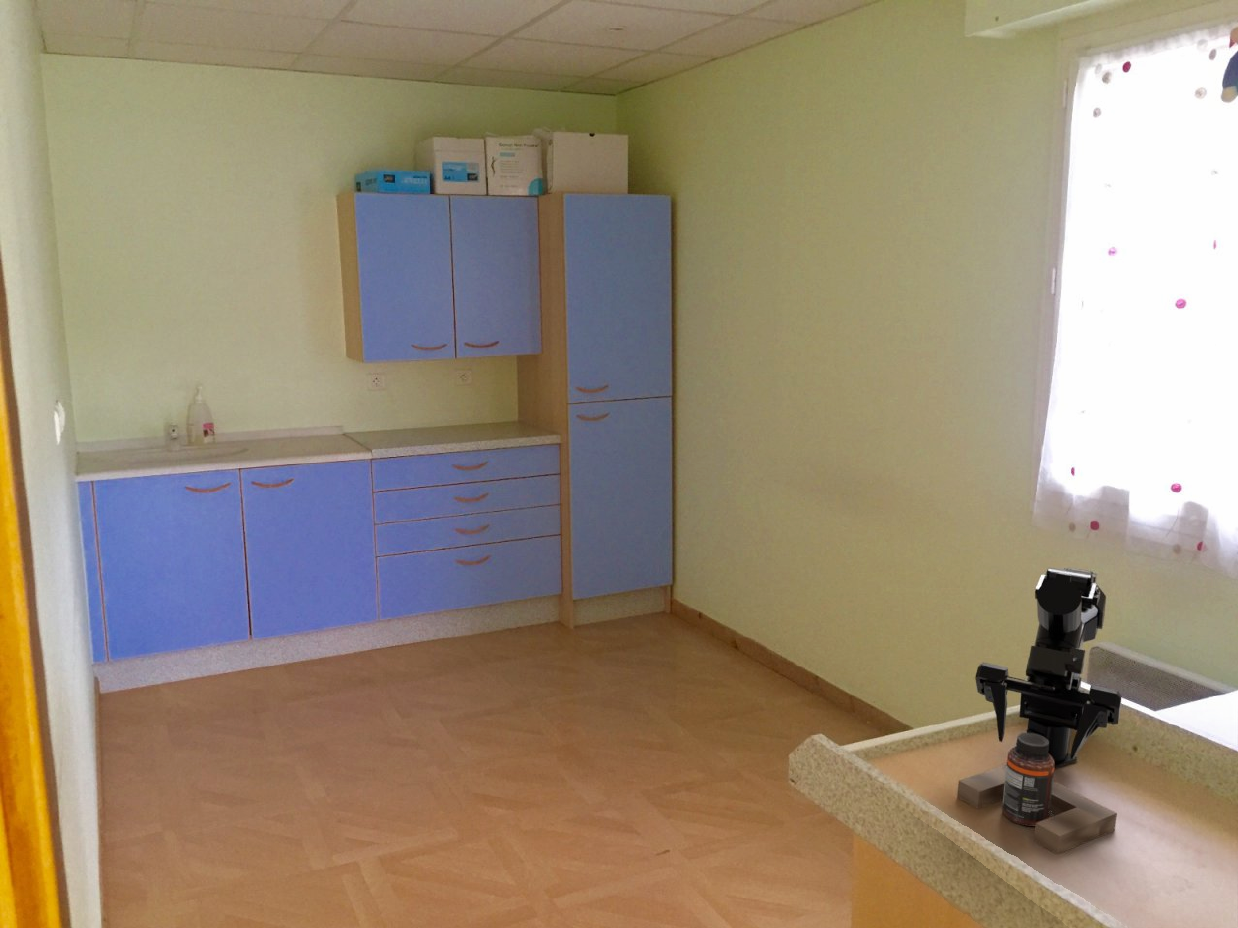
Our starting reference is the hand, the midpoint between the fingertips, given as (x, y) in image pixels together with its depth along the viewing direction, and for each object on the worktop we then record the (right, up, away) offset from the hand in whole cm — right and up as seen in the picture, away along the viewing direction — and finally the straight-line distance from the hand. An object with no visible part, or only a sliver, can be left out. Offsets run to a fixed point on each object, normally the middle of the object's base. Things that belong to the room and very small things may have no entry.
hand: (1035, 749), depth 142 cm
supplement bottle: (-2, -9, -1) cm, 9 cm away
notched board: (0, -9, -1) cm, 9 cm away
